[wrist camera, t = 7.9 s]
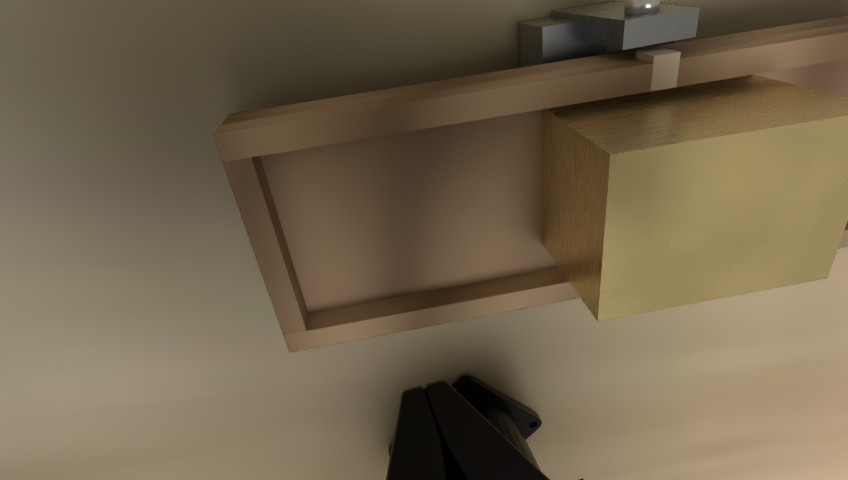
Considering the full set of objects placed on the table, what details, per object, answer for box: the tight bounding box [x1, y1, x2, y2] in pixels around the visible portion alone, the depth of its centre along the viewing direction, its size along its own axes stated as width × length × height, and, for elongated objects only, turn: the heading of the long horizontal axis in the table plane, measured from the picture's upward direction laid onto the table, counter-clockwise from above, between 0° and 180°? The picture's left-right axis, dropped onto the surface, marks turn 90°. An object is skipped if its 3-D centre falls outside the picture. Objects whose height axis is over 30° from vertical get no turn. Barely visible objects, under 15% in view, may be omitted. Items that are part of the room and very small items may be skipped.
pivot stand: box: [519, 0, 700, 68], centre depth 19 cm, size 25×11×5 cm, turn 97°
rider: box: [542, 74, 848, 321], centre depth 15 cm, size 7×5×4 cm
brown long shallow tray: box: [213, 15, 848, 353], centre depth 17 cm, size 26×8×2 cm, turn 97°
